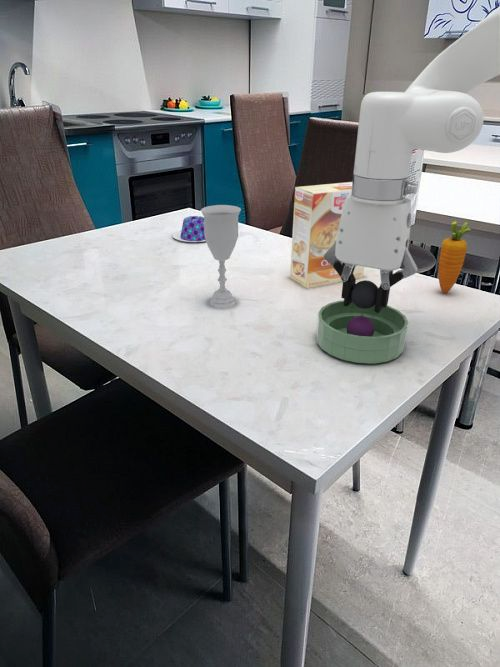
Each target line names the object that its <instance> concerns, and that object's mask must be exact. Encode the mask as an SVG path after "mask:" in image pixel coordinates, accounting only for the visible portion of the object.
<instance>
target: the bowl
mask: <svg viewBox="0 0 500 667" xmlns="http://www.w3.org/2000/svg"><path fill="white" fill-rule="evenodd" d="M343 304H344V299H343V300H337V301H333V302H329V303H327V304H325V305H323V306H322V307H321V308H320V310H319V311H318V313H317V321H316V322H317V323H316V334H315V335H316V336H315V337H316V338H315V339H316V344H317V345H318V346H319V347H320V348H321V350H323V351H324V352H326V353H327V354H328V355H330V356H331V357H335V358H337V359H340V360H342V361H347V362H351V363H358V364H380V363H386V362H390V361H392V360H396V359H397V358H398V357H399V356H401V355H402V354H403V353H404V349H405V344H406V339H407V332H408V327H409V320H408V319H407V317H406V315H405V314H404V313H402V312H401V311H400V310H398V309H396V308H395V307H392V306H390V305H388V304H387V306H386V307H383V308H382V310H381V311H380V312H379V313H376V312H375V311H374V310H375V305H374V306H373V307H371V308H367V309H363V308H359V307H357V306H356V305H355V304H354V303H353V301H352V302H351V303H350V305H349V306H344V305H343ZM356 316H365V317H367V318H369V319H370V320H371V321H372V322H373V324H374V334H373V336H358V335H353V334H347V325H348V323H349V321H350V320H351V319H352V318H354V317H356Z"/></svg>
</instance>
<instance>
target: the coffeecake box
mask: <svg viewBox="0 0 500 667" xmlns="http://www.w3.org/2000/svg"><path fill="white" fill-rule="evenodd" d="M352 182H353V181H347V182H337V183H326V184H315V185H304V186H295V187H294V200H293V201H294V203H293V217H292V218H293V219H292V220H293V221H292V238H291V253H290V254H291V255H290V272H289V273H290V274H289V278H290V279H291V280H292V281H294V282H296V283H298V284H299V285H300V286H302V287H304V288H306V289H312V288H317V287H321V286H326V285H332V284H335V283H336V284H337V283H341V282H342V283H343V281H342V280H341V277H340V275H339V274H338V273H337V271H336V270H335V269H334V267H333V266H332V265H331V264H330V263H329V262H328V261H327V260H326V259H325V258H324V254H325V253H326V252H327V251H328V250H329V249H330V248H331V246H332V245H333V244H334V243H335V242H336V240H337V234H338V229H339V224H340V219H341V215H342V211H343V207H344V204H345V200H346V197H347V196H348V195H349V194H351V192H352ZM364 270H365V267H363V266H358V265H356V268H355V271H354V273H353V275H354V277H355V279H356V280H357V279H361V278H363V277H364Z"/></svg>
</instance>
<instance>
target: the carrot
mask: <svg viewBox="0 0 500 667" xmlns="http://www.w3.org/2000/svg"><path fill="white" fill-rule="evenodd" d="M468 224H469V222H467V221H465V222H464V223H462V225H461V228H460V230H458V222H457V221H452V222H451V237H447V238H444V239H443V240H442V242H441V247H440V252H439V259H438V260H439V261H438V284H439V288H440V290H441V292H442V293H443V294H448V293H449V292H450V290H451V289H452V288H453V287H454V285H455V284H456V282H457V281H458V278H459V276H460V274H461V271H462V269H463V266H464V262H465V259H466V258H465V257H466V255H467V254H466V253H467V250H468V243H467V241H466V240H464V239H462V237H463V236H464V235H466V234H467V233H469V232H471V228H470V227H467V226H468Z"/></svg>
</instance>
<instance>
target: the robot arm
mask: <svg viewBox="0 0 500 667" xmlns="http://www.w3.org/2000/svg"><path fill="white" fill-rule="evenodd" d="M498 76H500V5H499V6H497V8H496V9H495V10H493V12H491V13H490V14H489V15H487V16H486V17H485V18H483V19H482V20H480V21H479V22H478V23H476V24H475V25H474V26H473V27H471V28H470V29H469V30H468V31H467V32H465V33H464V34H462V36H460V37H459V38H458V39H456V40H455V41H454V42H453V43H451V44H450V45H449V46H447V47H446V48H445V49H444V50H442V51H441V52H440V53H439V54H438V55H437V56H436V57H435V58H434V59H433V60H432V61H430V62H429V63H428V65H427V66H426V67H425V68H424V69H423V70H422V71H421V72H420V73H419V75H418V76H416V78H415V79H414V80H413V81H412V83H411V84H410V85H409V86H408V87H407V88H406V90H405V91H371V92H369V93H367V94H365V95H364V97H363V98H362V100H361V103H360V108H359V117H358V127H357V138H356V147H355V154H354V155H355V156H354V166H353V173H352V181H351V182H352V192H351V194H349V195H348V196H347V197H346V200H345V204H344V207H343V211H342V215H341V219H340V224H339V229H338V234H337V240H336V242H335V243H334V244H333V245H332V246H331V248H330V249H329V250H328V251H327V252H326V253H325V254H324V258H325V259H326V260H327V261H328V262H329V263H330V264H331V265H332V266H333V267H334V269H335V270H336V271H337V273H338V274H339V275H340V277H341V280H342V288H341V295H340V296H341V299H343V300H344V304H343V305H344V306H349V305H350V303H351V302H352V299H351V290H352V288H353V286H354V285H355V284H356V283H357V278H356V279H355V277H354V275H353V273H354V271H355V268H356V265H358V266H363V267H364V268H370V269H375V270H379V274H380V275H379V276H380V284H379V287H378V290H377V296H376V303H375V310H374V311H375V312H376V313H379V312H380V311H381V310H382V308H383V307H386V306H387V305H388V304H389V298H390V293H391V292H390V291H391V287H393V286H394V285H396V284H397V283H399V282H400V281H402V280H404V279H407V278H409V277H412V276H414V275H415V274H416V273H417V272H418V269H419V268H418V266H417V263H416V262H415V260H414V259H413V256H412V254H411V253H410V251H409V247H410V238H411V237H410V236H411V225H412V223H411V222H412V202H411V199H410V198H406V197H407V196H408V195H411V194H412V195H416V194H418V190H419V189H418V188H419V184H418V183H414V182H411V180H410V169H411V162H412V158H413V151H414V150H419V151H420V150H421V151H429V152H434V153H442V154H450V153H455V152H459V151H461V150H463V149H466V148H467V147H469V146H470V145H471V144H472V143H474V142H475V141H476V139H477V138H478V136H479V135H480V134H481V131H482V129H483V125H484V111H483V109H482V107H481V104H480V103H479V101H477V99H475V97H473V96H471V95H470V94H469V93H470V92H471V91H473V90H475V89H476V88H477V87H479V86H480V85H483V84H484V83H486V82H487V81H490V80H491V79H493V78H496V77H498ZM402 265H403V266H404V268H402V269H400V268H401V266H402ZM394 271H395V272H394Z"/></svg>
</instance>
